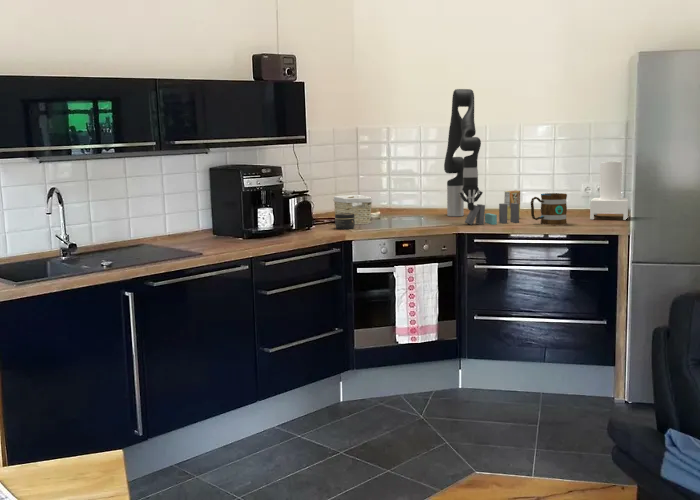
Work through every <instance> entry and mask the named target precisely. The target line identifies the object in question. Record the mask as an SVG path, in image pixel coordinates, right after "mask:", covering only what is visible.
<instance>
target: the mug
mask: <svg viewBox="0 0 700 500" xmlns="http://www.w3.org/2000/svg"><path fill="white" fill-rule="evenodd" d="M567 198H568V194H567V193H561V192H554V193H553V192H551V193H550V192H549V193H548V192H546V193H540V198H539V197H538V196H534V197H532V198H531V200H530V213H531V214H530V215H531V218H532V219H533V220H534V221H538V220H540V224H541V225H549V226H550V225H554V226H555V225H557V226H558V225H567V223H568V222H567V212H568V206H567V200H568V199H567ZM535 200H537V201H538V202H539V203H540V216H538V217H536V216H535V206H534V203H535Z"/></svg>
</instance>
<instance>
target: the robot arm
mask: <svg viewBox="0 0 700 500" xmlns="http://www.w3.org/2000/svg"><path fill="white" fill-rule="evenodd" d="M451 101H452V102H451V116H450V122H449V128H448V137H447V138H448V141H447V147H446V153H445V159H444V165H443V168H444V172H445V173H446V174H456V176H455V177H453V178H450V179H448V180H447V182H446V188H447V189H446V191H447V194H446V200H447V201H446V207H447V208H446V213H447V214H446V215H447V217H463V216H464V215H465V213H464V211H465V209H464V207H465V206H464V205H465V204H464V202H465V203H467V210H468V211H470V210H473V209H474V205H475V203H476V202H478V200H479V199H480V198H481V196H482V195H483V193H484V192H483V191H481V190H480V189H479V170H478V160H479V159H478V158H479V154H480V149H481V145H482V141H481V139H480V137H478V136H475V135H476V131H477V130H476V123H475V93H474V90H472V89H470V88H469V89H467V88H456V89H454V91H453V93H452V100H451ZM461 107H462V108H463V107H464V108H466V107H467V111H466V112H465V113H464V115H463V117H462V116H461V114H460V111H459V108H461ZM459 148H460V150H461V151H463V152H472V153H471V154H470V155H465V156H464V157H462V156H454V154H455V153H456V152H457V150H458V149H459Z"/></svg>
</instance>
